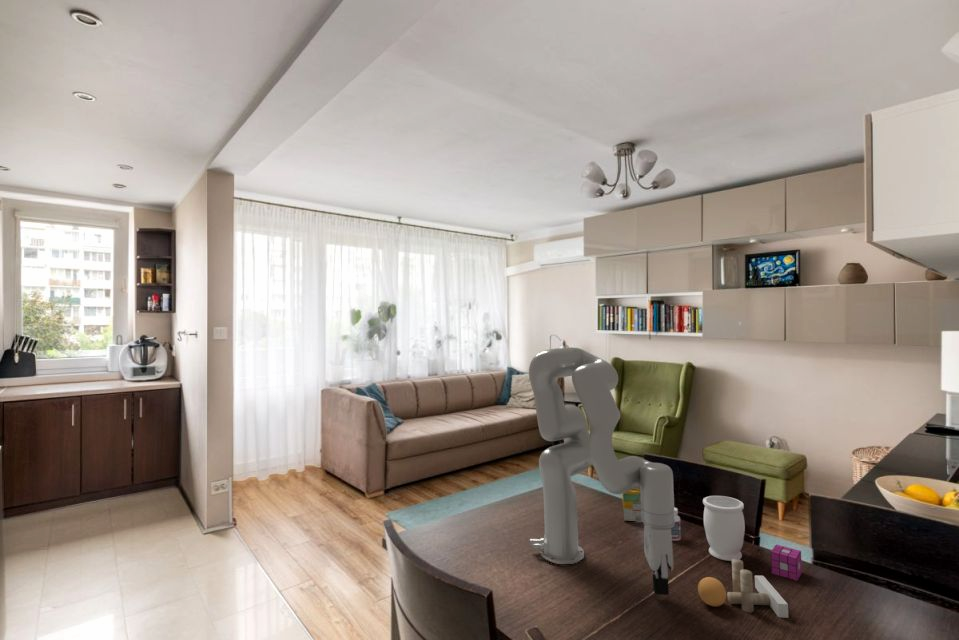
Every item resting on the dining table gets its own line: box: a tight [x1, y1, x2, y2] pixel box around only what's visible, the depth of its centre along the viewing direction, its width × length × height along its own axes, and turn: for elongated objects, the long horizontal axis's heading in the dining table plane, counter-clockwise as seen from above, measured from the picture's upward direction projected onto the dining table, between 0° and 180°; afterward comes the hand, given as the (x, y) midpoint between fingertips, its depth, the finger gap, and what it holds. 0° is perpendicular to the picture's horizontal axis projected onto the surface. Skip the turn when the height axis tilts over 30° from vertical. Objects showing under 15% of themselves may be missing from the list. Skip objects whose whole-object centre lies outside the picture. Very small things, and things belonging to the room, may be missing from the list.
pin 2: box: [740, 568, 755, 613], centre depth 108 cm, size 2×2×8 cm
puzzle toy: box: [770, 544, 803, 582], centre depth 122 cm, size 6×6×6 cm
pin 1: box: [731, 559, 744, 592], centre depth 113 cm, size 2×2×8 cm
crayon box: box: [621, 487, 642, 523], centre depth 158 cm, size 7×3×12 cm, turn 77°
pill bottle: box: [671, 506, 682, 542], centre depth 145 cm, size 5×5×9 cm
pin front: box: [726, 591, 770, 606], centre depth 110 cm, size 2×2×8 cm
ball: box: [697, 576, 727, 608], centre depth 110 cm, size 6×6×6 cm
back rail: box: [754, 575, 789, 619], centre depth 110 cm, size 2×12×3 cm, turn 172°
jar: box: [702, 495, 746, 562], centre depth 133 cm, size 11×10×15 cm
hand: (660, 592), depth 113 cm, fingers closed
